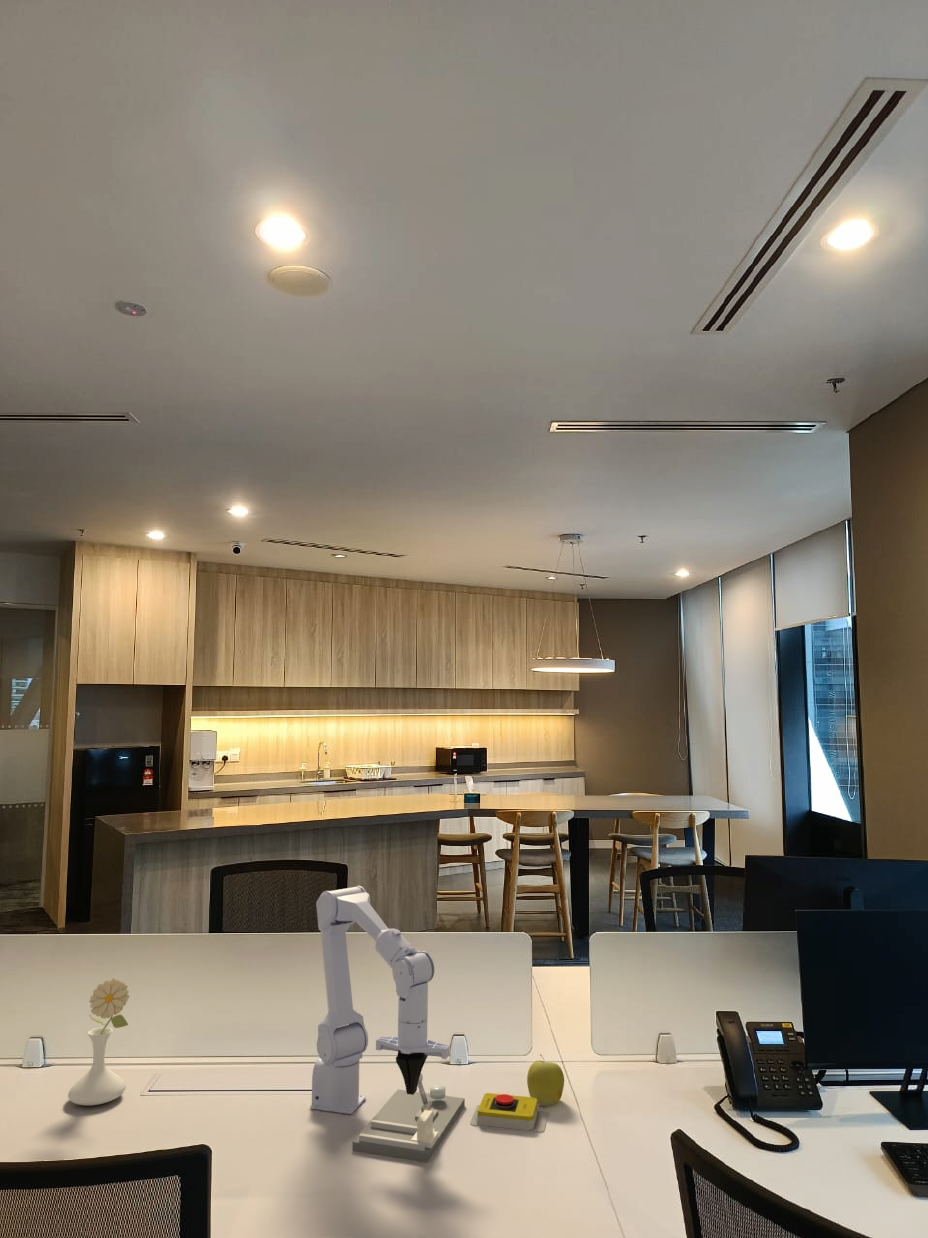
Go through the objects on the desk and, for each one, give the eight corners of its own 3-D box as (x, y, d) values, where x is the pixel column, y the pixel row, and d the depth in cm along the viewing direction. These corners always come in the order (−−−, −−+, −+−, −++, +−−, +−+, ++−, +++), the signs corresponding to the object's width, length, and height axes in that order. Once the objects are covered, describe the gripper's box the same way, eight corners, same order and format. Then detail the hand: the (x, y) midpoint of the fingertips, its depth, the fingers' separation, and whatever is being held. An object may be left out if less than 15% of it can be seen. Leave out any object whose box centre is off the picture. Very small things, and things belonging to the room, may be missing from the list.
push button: (427, 1098, 178) (428, 1090, 178) (432, 1092, 181) (432, 1084, 181) (442, 1100, 177) (442, 1092, 177) (447, 1094, 180) (447, 1086, 180)
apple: (551, 1110, 176) (540, 1057, 179) (524, 1110, 181) (515, 1058, 185) (576, 1100, 181) (566, 1048, 184) (550, 1099, 186) (540, 1049, 190)
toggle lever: (421, 1115, 171) (409, 1076, 173) (425, 1110, 174) (413, 1071, 175) (430, 1113, 171) (418, 1073, 172) (434, 1107, 173) (422, 1069, 175)
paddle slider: (410, 1145, 160) (411, 1119, 161) (418, 1134, 164) (418, 1109, 165) (431, 1148, 159) (431, 1122, 160) (438, 1137, 163) (438, 1112, 164)
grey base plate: (352, 1150, 162) (352, 1136, 162) (397, 1096, 184) (397, 1084, 185) (427, 1162, 157) (427, 1148, 158) (464, 1106, 180) (464, 1093, 180)
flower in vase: (54, 1106, 179) (61, 981, 182) (96, 1084, 190) (102, 967, 193) (102, 1117, 174) (109, 989, 177) (143, 1094, 185) (148, 974, 188)
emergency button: (477, 1085, 181) (548, 1092, 178) (477, 1107, 181) (548, 1114, 178) (469, 1105, 172) (543, 1112, 169) (469, 1128, 172) (543, 1136, 169)
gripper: (370, 1021, 165) (368, 1096, 164) (441, 1030, 161) (440, 1106, 159) (384, 1009, 172) (382, 1081, 170) (453, 1017, 168) (452, 1090, 166)
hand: (411, 1092), depth 165 cm, fingers closed
